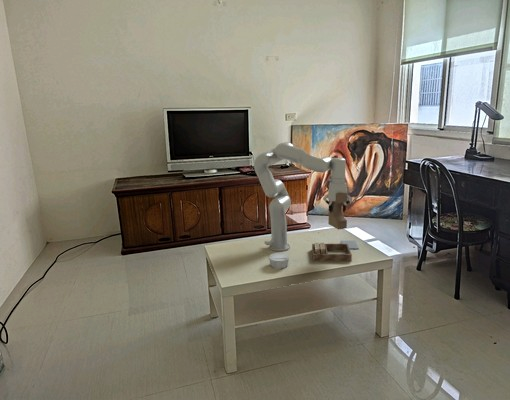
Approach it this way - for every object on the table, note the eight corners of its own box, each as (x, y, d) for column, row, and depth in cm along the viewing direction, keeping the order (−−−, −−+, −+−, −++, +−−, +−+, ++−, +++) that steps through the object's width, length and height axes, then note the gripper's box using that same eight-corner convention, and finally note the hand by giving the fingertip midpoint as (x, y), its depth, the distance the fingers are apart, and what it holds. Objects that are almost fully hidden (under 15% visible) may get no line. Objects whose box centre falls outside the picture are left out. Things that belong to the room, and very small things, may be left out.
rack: (313, 261, 201) (313, 254, 200) (312, 249, 217) (312, 243, 216) (351, 261, 198) (351, 254, 197) (347, 249, 214) (347, 243, 213)
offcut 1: (315, 259, 204) (315, 249, 202) (314, 252, 213) (314, 242, 212) (319, 259, 204) (319, 249, 202) (318, 252, 213) (318, 242, 212)
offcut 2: (320, 259, 203) (320, 249, 202) (319, 252, 213) (319, 242, 212) (325, 259, 203) (325, 249, 202) (323, 252, 213) (323, 242, 211)
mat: (343, 249, 216) (343, 248, 216) (340, 241, 228) (340, 240, 228) (358, 249, 215) (358, 248, 215) (355, 241, 227) (355, 240, 227)
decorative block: (347, 228, 199) (348, 193, 194) (338, 229, 197) (338, 194, 193) (336, 223, 209) (337, 189, 204) (328, 224, 208) (328, 190, 203)
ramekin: (277, 271, 190) (277, 262, 189) (265, 265, 199) (264, 256, 198) (293, 265, 196) (293, 256, 195) (280, 259, 205) (280, 251, 204)
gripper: (322, 182, 194) (321, 213, 198) (355, 181, 192) (353, 213, 196) (321, 179, 201) (320, 209, 206) (353, 179, 199) (351, 210, 204)
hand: (337, 211), depth 201 cm, fingers closed on decorative block, 6 cm apart
